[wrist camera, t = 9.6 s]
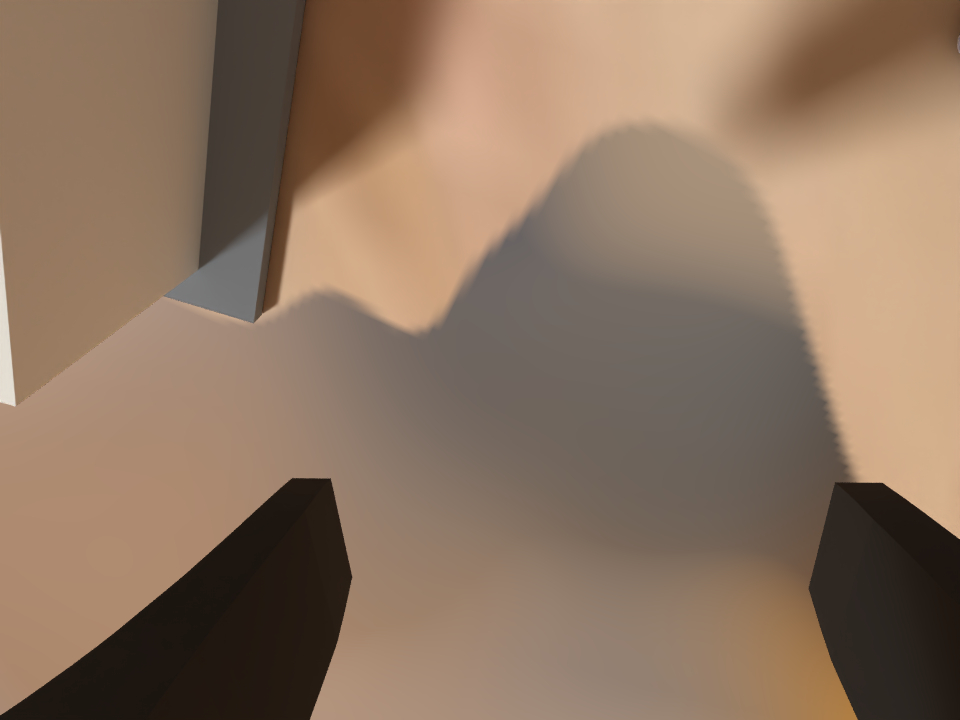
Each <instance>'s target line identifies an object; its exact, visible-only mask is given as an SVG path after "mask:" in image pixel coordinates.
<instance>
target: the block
mask: <svg viewBox="0 0 960 720" xmlns="http://www.w3.org/2000/svg"><path fill="white" fill-rule="evenodd" d="M217 11H218V0H0V402H2V403H6V404H9V405H12V406H17V405H18V404H20V403H21V402H22V401H24V400H25V399H26V398H28V397H29V396H30V395H32V394H33V393H34V392H36V391H37V390H38V389H40V388H41V387H42V386H44V385H45V384H46V383H48V382H49V381H50V380H52V379H53V378H54V377H56V376H57V375H59V374H60V373H61V372H62V371H64V370H65V369H66V368H68V367H69V366H70V365H72V364H73V363H75V362H76V361H77V360H79V359H80V358H81V357H83V356H84V355H85V354H86V353H88V352H89V351H90V350H92V349H93V348H95V347H96V346H97V345H98V344H100V343H101V342H102V341H104V340H105V339H106V338H108V337H109V336H111V335H112V334H113V333H115V332H116V331H117V330H119V329H120V328H121V327H123V326H124V325H125V324H127V323H128V322H129V321H131V320H132V319H133V318H134V317H136V316H137V315H138V314H140V313H141V312H143V311H144V310H145V309H147V308H148V307H149V306H151V305H152V304H153V303H155V302H156V301H157V300H159V299H160V298H161V297H163V296H164V295H165V294H167V293H168V292H169V291H171V290H172V289H173V288H175V287H176V286H177V285H179V284H180V283H181V282H183V281H184V280H185V279H187V278H188V277H189V276H191V275H192V274H193V273H195V272H196V271H197V270H198V268H199V255H200V241H201V227H202V214H203V200H204V187H205V173H206V160H207V146H208V133H209V119H210V106H211V92H212V79H213V65H214V52H215V38H216V25H217Z"/></svg>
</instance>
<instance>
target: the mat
mask: <svg viewBox="0 0 960 720" xmlns="http://www.w3.org/2000/svg"><path fill="white" fill-rule="evenodd" d="M305 2H306V0H218V11H217V25H216V38H215V52H214V65H213V79H212V92H211V106H210V119H209V133H208V146H207V160H206V173H205V187H204V200H203V214H202V227H201V241H200V255H199V268H198V270H197V271H196V272H195V273H193V274H192V275H191V276H189V277H188V278H187V279H185V280H184V281H183V282H181V283H180V284H179V285H177V286H176V287H175V288H173V289H172V290H171V291H169V292H168V293H167V294H165V295H164V296H165V297H168V298H171V299H175V300H178V301H181V302H185V303H188V304H191V305H195V306H198V307H201V308H205V309H208V310H211V311H214V312H218V313H221V314H224V315H228V316H231V317H234V318H238V319H241V320H244V321H248V322H251V323H254V322H255V321H256V320H257V319H258V318H259V317H260V316H261V315H262V309H263V302H264V295H265V288H266V280H267V273H268V266H269V259H270V252H271V245H272V238H273V230H274V223H275V216H276V209H277V202H278V195H279V188H280V180H281V173H282V166H283V159H284V152H285V145H286V138H287V130H288V123H289V116H290V109H291V102H292V95H293V88H294V80H295V73H296V66H297V59H298V52H299V45H300V37H301V30H302V23H303V16H304V9H305Z"/></svg>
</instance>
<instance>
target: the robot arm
mask: <svg viewBox="0 0 960 720" xmlns="http://www.w3.org/2000/svg"><path fill="white" fill-rule="evenodd" d="M957 49H958V51H959V53H960V34H959V37H958V41H957ZM351 580H352V574H351V570H350V565H349V561H348V556H347V552H346V546H345V543H344V538H343V533H342V528H341V523H340V519H339V515H338V510H337V505H336V501H335V496H334V491H333V487H332V482H331V479H315V478H309V479H306V478H292V479H291V480H290V481H288V482H287V483H286V484H285V485H284V486H283V487H281V488H280V489H279V490H278V491H277V492H276V493H275V494H274V495H273V496H271V497H270V498H269V499H268V500H267V501H266V502H265V503H264V504H263V505H261V506H260V507H259V508H258V509H257V510H256V511H255V512H254V513H253V514H252V515H251V516H250V517H249V518H247V519H246V520H245V521H244V522H243V523H242V524H241V525H240V526H239V527H238V528H236V529H235V530H234V531H233V532H232V533H231V534H230V535H229V536H228V537H227V538H225V539H224V540H223V541H222V542H221V543H220V544H219V545H218V546H217V547H215V548H214V549H213V550H212V551H211V552H210V553H209V554H208V555H206V556H205V557H204V558H203V559H202V560H201V561H200V562H199V563H197V564H196V565H195V566H194V567H193V568H192V569H191V570H190V571H188V572H187V573H186V574H185V575H184V576H183V577H182V578H180V579H179V580H178V581H177V582H176V583H174V584H173V585H172V586H171V587H170V588H168V589H167V590H166V591H165V592H164V593H163V594H161V595H160V596H159V597H157V598H156V599H155V600H154V601H153V602H151V603H150V604H149V605H148V606H147V607H145V608H144V609H143V610H142V611H140V612H139V613H138V614H137V615H136V616H134V617H133V618H132V619H131V620H130V621H128V622H127V623H126V624H125V625H123V626H122V627H121V628H120V629H119V630H117V631H116V632H115V633H114V634H112V635H111V636H110V637H109V638H107V639H106V640H105V641H103V642H102V643H101V644H100V645H98V646H97V647H96V648H94V649H93V650H92V651H90V652H89V653H88V654H86V655H85V656H84V657H82V658H81V659H80V660H78V661H77V662H76V663H74V664H73V665H72V666H70V667H69V668H67V669H66V670H65V671H63V672H62V673H61V674H59V675H58V676H56V677H55V678H54V679H52V680H51V681H49V682H48V683H47V684H45V685H44V686H43V687H41V688H40V689H38V690H37V691H35V692H34V693H33V694H31V695H30V696H28V697H27V698H25V699H24V700H23V701H21V702H20V703H18V704H17V705H15V706H14V707H12V708H11V709H9V710H8V711H7V712H5V713H3V714H2V715H0V720H310V717H311V715H312V712H313V709H314V706H315V703H316V701H317V698H318V695H319V693H320V690H321V687H322V684H323V681H324V679H325V676H326V673H327V670H328V667H329V664H330V662H331V659H332V656H333V653H334V650H335V647H336V644H337V641H338V637H339V633H340V628H341V625H342V621H343V616H344V612H345V607H346V603H347V598H348V594H349V589H350V585H351ZM809 591H810V594H811V598H812V601H813V604H814V608H815V611H816V614H817V618H818V621H819V624H820V628H821V631H822V634H823V637H824V640H825V643H826V646H827V648H828V652H829V655H830V658H831V661H832V663H833V665H834V667H835V670H836V672H837V674H838V677H839V679H840V681H841V683H842V685H843V688H844V690H845V692H846V694H847V696H848V699H849V701H850V703H851V705H852V707H853V710H854V712H855V714H856V717H857V719H858V720H960V539H958V538H957V537H956V536H954V535H953V534H952V533H950V532H949V531H948V530H946V529H945V528H944V527H942V526H941V525H940V524H938V523H937V522H936V521H934V520H933V519H932V518H930V517H929V516H928V515H926V514H925V513H924V512H922V511H921V510H920V509H918V508H917V507H916V506H914V505H913V504H911V503H910V502H909V501H907V500H906V499H905V498H903V497H902V496H900V495H899V494H898V493H896V492H895V491H893V490H892V489H890V488H889V487H887V486H886V485H885V484H883V483H835V485H834V489H833V493H832V497H831V501H830V505H829V509H828V513H827V517H826V521H825V525H824V530H823V533H822V537H821V541H820V545H819V549H818V553H817V558H816V561H815V565H814V569H813V573H812V577H811V581H810V586H809Z"/></svg>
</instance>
